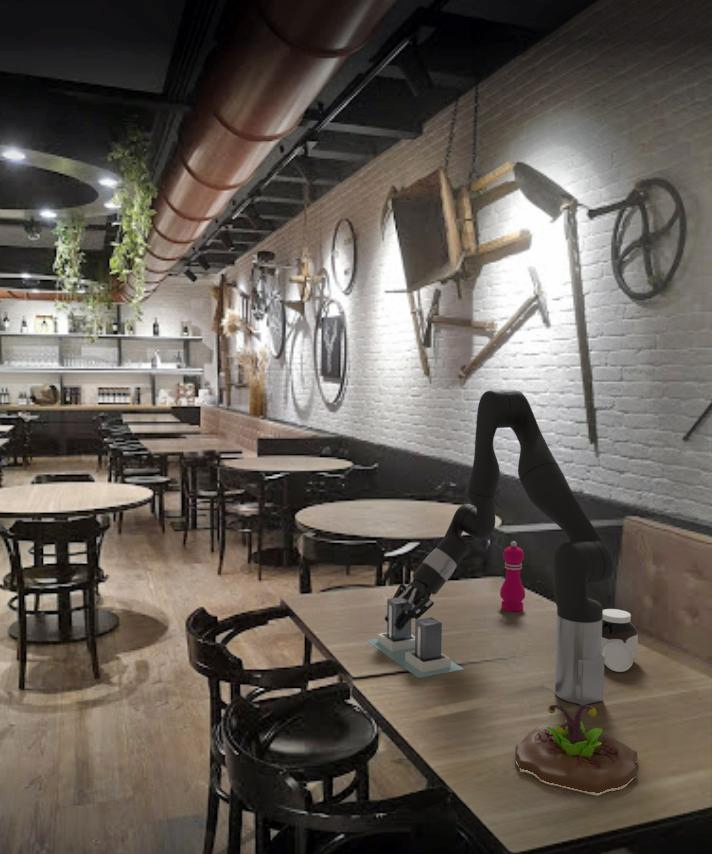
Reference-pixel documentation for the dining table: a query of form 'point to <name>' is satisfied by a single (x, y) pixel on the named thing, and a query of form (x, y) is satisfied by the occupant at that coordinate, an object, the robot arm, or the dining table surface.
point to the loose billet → (393, 613)
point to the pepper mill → (512, 579)
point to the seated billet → (428, 639)
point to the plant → (576, 755)
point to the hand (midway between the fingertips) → (392, 624)
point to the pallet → (412, 657)
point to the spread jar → (618, 640)
